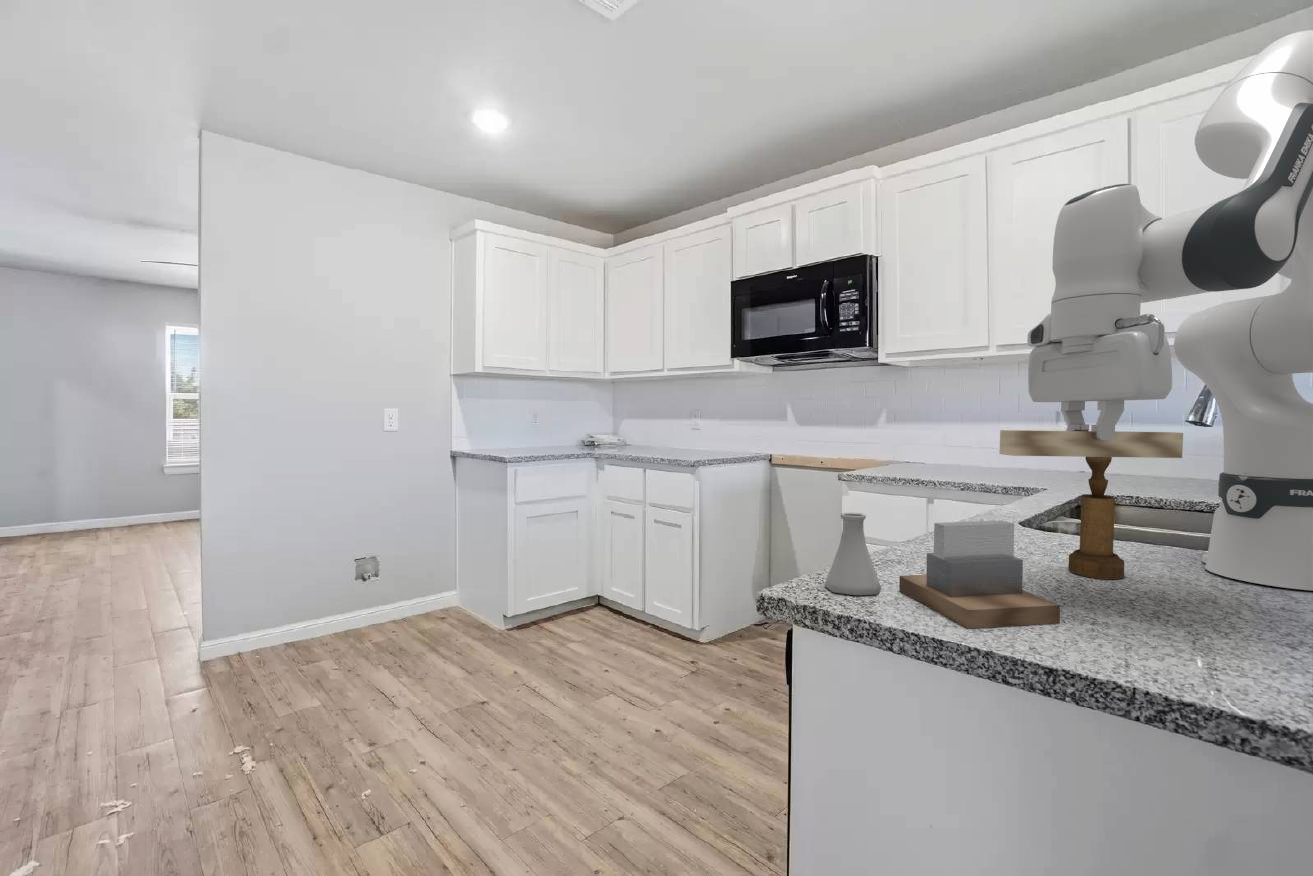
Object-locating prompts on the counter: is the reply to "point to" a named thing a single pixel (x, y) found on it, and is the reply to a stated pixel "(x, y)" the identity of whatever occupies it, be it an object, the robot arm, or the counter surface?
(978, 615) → the walnut base
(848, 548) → the flask
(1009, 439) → the maple bar
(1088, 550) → the brown tall knobbed post
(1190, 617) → the counter surface
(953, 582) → the grey stepped block
